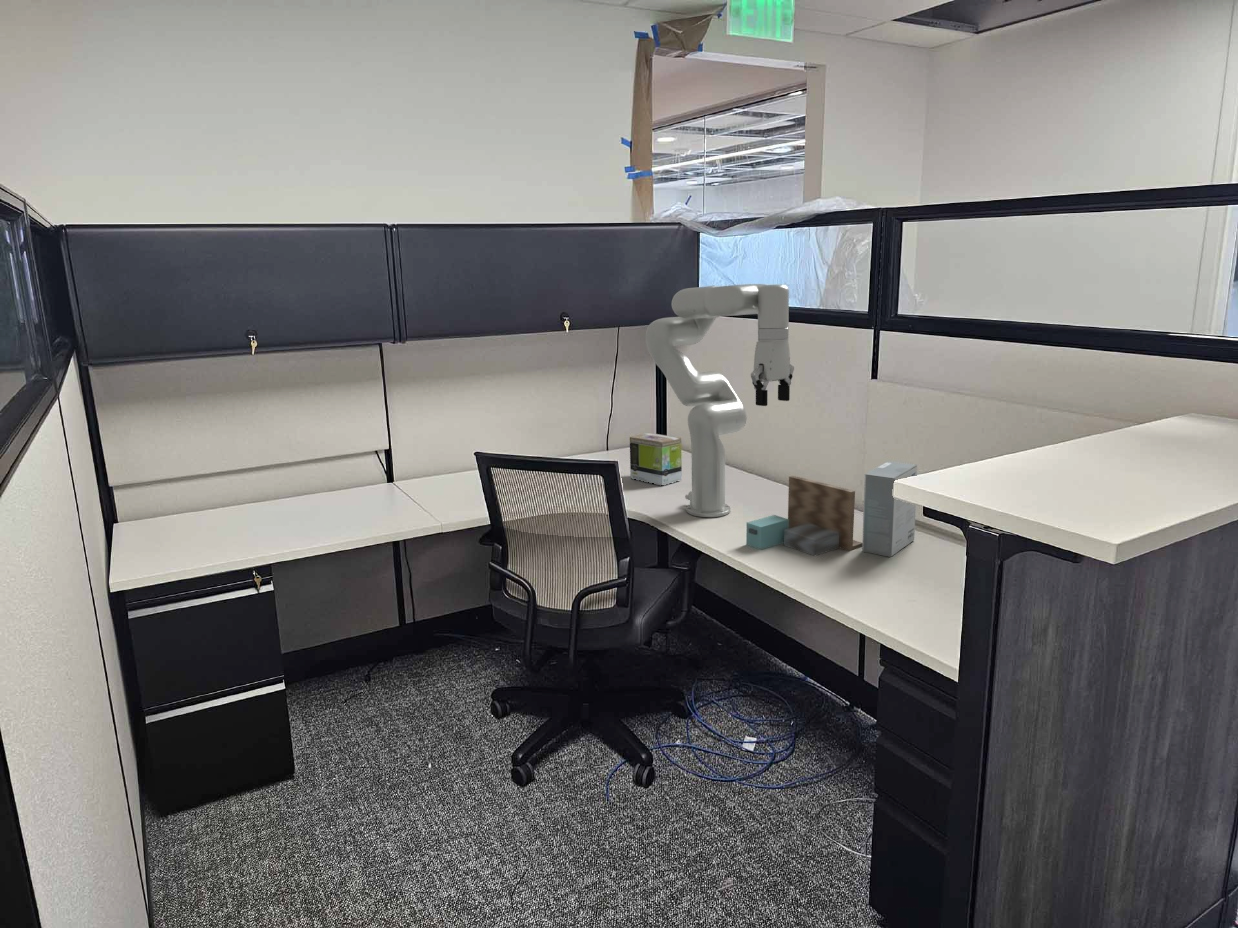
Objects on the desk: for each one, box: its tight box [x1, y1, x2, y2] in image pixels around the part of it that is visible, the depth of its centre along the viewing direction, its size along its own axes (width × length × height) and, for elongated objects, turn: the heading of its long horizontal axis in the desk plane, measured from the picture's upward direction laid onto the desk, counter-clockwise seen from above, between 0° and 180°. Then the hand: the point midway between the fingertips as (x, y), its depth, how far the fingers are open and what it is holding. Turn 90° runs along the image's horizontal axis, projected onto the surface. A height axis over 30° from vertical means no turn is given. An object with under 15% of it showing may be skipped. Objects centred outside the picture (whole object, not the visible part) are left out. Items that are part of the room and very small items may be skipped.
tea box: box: [629, 432, 683, 486], centre depth 272 cm, size 15×10×15 cm
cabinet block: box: [745, 514, 789, 550], centre depth 209 cm, size 5×11×6 cm, turn 126°
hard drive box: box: [861, 460, 918, 558], centre depth 203 cm, size 16×8×20 cm, turn 141°
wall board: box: [783, 475, 862, 557], centre depth 207 cm, size 20×14×15 cm
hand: (772, 403), depth 209 cm, fingers open, 9 cm apart
